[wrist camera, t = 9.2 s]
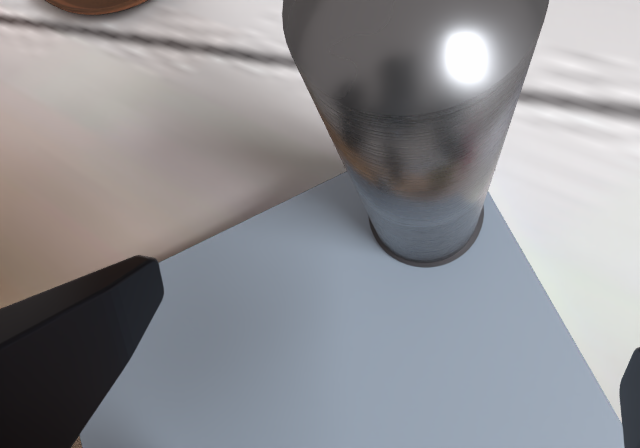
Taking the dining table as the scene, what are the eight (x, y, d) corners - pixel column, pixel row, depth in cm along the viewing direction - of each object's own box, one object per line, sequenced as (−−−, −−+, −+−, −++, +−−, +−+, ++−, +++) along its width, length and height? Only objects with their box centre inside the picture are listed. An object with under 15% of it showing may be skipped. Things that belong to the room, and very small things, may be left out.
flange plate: (154, 661, 19) (23, 806, 13) (70, 316, 23) (-59, 304, 17) (637, 467, 17) (747, 529, 11) (447, 134, 21) (452, 48, 15)
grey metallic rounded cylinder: (399, 280, 19) (342, 161, 7) (356, 190, 20) (247, -36, 8) (497, 235, 19) (607, 31, 7) (447, 147, 20) (467, -155, 8)
